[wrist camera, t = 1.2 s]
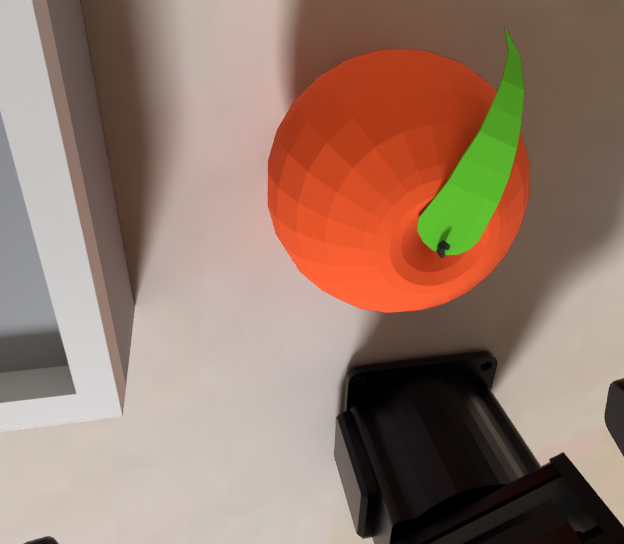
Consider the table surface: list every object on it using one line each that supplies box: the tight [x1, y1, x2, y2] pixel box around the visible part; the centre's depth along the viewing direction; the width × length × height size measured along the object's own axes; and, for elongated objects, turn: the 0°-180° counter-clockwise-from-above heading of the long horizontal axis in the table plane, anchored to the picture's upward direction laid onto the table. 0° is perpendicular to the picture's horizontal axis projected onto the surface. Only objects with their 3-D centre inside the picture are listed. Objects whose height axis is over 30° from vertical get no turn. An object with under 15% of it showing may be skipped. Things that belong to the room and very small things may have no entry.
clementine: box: [268, 27, 530, 313], centre depth 15 cm, size 8×7×7 cm
